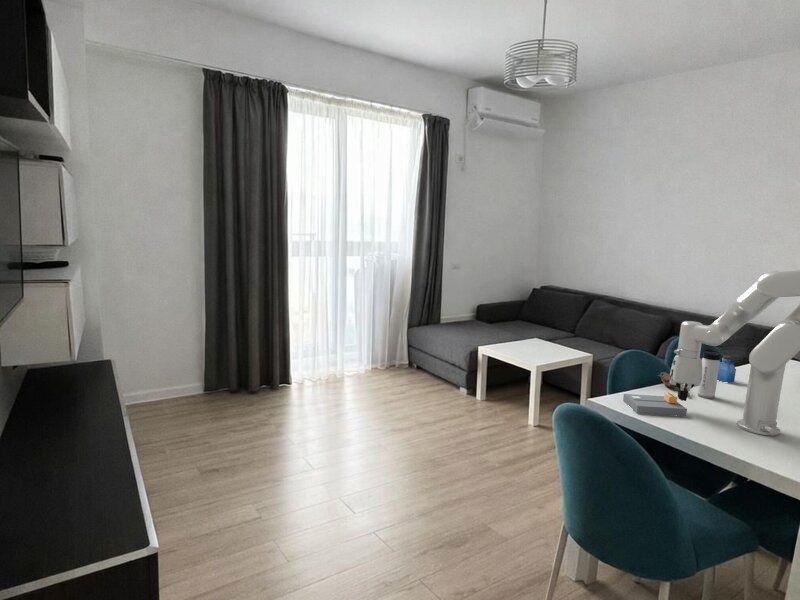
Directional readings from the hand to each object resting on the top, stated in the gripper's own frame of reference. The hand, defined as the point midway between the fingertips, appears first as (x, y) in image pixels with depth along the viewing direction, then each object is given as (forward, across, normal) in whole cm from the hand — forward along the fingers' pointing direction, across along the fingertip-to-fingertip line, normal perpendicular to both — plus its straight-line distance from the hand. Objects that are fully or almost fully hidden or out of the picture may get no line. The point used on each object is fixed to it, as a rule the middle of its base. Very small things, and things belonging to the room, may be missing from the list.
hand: (682, 399), depth 195 cm
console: (+4, -10, 0) cm, 11 cm away
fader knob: (+1, -4, 0) cm, 5 cm away
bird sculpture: (+5, +9, +29) cm, 31 cm away
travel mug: (+4, +19, +20) cm, 28 cm away
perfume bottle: (+4, +41, +47) cm, 63 cm away
